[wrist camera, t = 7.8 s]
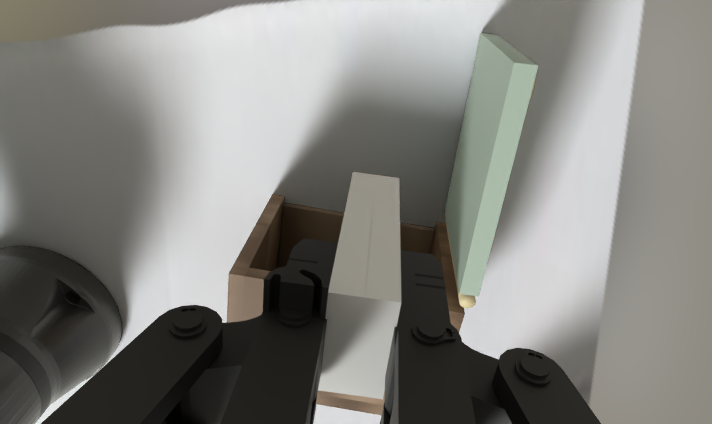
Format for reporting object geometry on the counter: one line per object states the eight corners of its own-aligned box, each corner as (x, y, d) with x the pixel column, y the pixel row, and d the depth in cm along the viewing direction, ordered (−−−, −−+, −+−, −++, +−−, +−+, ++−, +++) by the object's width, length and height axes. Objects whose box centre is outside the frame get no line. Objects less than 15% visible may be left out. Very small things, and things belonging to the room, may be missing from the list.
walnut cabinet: (264, 290, 47) (224, 388, 36) (272, 194, 42) (228, 273, 31) (423, 317, 47) (430, 423, 36) (448, 224, 42) (464, 313, 31)
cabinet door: (480, 32, 35) (514, 62, 25) (514, 36, 35) (563, 68, 24) (442, 221, 42) (456, 306, 31) (471, 224, 42) (494, 311, 31)
